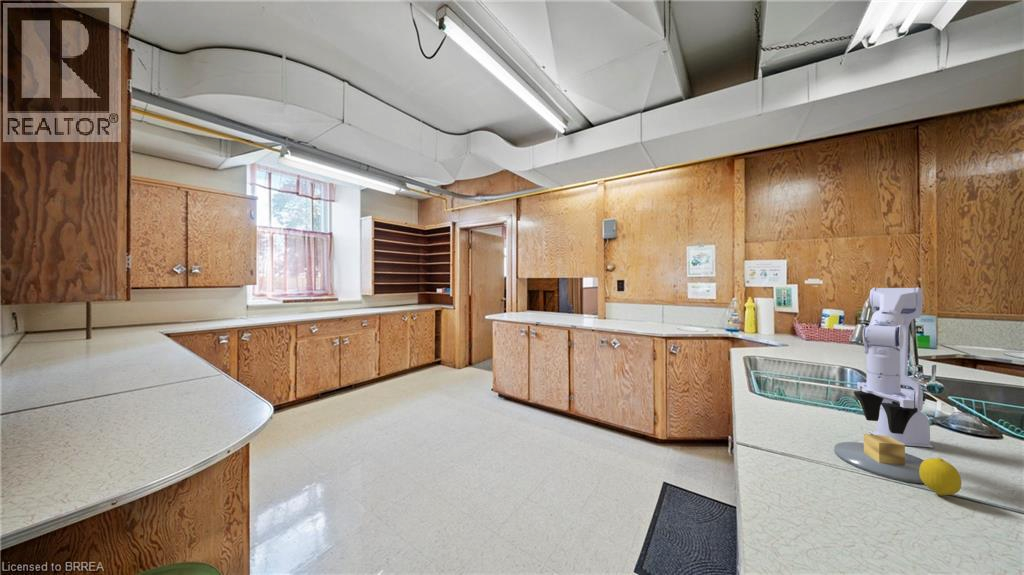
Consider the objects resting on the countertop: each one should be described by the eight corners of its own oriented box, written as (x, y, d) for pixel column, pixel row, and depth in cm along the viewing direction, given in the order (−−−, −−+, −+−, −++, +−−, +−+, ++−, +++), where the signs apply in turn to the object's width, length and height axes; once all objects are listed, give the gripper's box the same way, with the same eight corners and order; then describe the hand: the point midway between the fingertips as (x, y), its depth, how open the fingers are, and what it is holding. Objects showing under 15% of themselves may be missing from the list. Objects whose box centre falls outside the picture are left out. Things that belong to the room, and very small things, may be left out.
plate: (898, 449, 90) (898, 446, 90) (969, 489, 72) (969, 484, 72) (818, 442, 94) (818, 438, 94) (866, 478, 77) (866, 473, 77)
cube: (888, 455, 85) (887, 435, 85) (905, 465, 80) (904, 444, 80) (863, 452, 86) (863, 433, 86) (879, 462, 82) (879, 442, 82)
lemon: (971, 505, 67) (970, 466, 67) (937, 502, 68) (937, 463, 68) (941, 488, 73) (941, 452, 73) (911, 486, 74) (910, 450, 74)
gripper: (843, 365, 91) (844, 414, 91) (886, 380, 77) (887, 437, 77) (875, 366, 89) (876, 416, 89) (925, 381, 75) (926, 440, 75)
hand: (883, 426), depth 83 cm, fingers open, 7 cm apart
